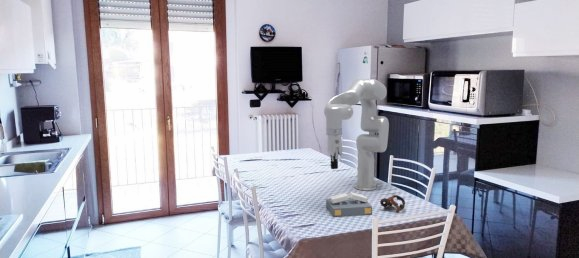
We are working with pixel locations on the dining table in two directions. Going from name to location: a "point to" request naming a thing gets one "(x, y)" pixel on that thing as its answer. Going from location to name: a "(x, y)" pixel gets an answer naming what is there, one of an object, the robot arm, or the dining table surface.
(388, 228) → the dining table surface
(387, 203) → the brown looped piece
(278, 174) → the dining table surface
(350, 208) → the switch unit
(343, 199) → the rocker
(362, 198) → the rocker
